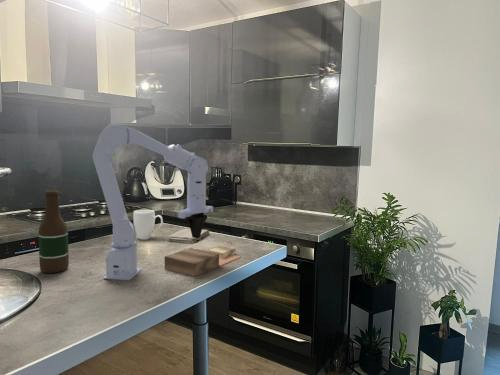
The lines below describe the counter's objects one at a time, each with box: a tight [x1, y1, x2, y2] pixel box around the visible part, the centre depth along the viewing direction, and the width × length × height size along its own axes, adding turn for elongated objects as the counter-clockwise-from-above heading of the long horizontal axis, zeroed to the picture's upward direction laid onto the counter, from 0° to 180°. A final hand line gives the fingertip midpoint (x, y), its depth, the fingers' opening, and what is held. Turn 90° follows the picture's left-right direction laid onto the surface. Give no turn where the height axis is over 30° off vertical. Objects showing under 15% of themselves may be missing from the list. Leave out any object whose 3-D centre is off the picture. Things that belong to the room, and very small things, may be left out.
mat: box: [207, 250, 242, 267], centre depth 125 cm, size 12×13×1 cm
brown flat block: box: [164, 247, 220, 278], centre depth 115 cm, size 12×12×4 cm
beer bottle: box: [38, 189, 70, 274], centre depth 109 cm, size 8×8×24 cm
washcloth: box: [167, 228, 210, 245], centre depth 152 cm, size 12×18×3 cm, turn 166°
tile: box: [208, 244, 237, 259], centre depth 128 cm, size 8×6×2 cm
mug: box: [132, 208, 164, 241], centre depth 149 cm, size 12×8×11 cm
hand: (196, 237), depth 116 cm, fingers closed
